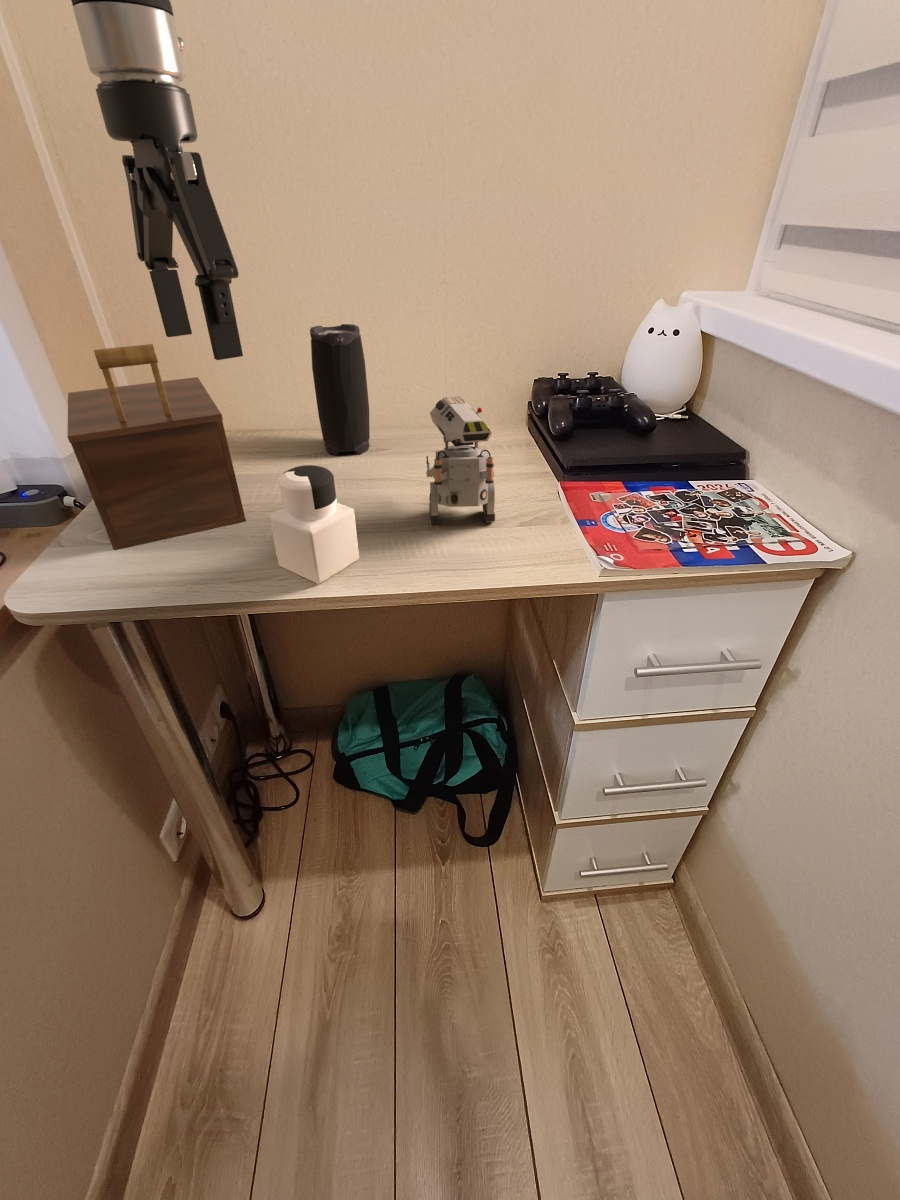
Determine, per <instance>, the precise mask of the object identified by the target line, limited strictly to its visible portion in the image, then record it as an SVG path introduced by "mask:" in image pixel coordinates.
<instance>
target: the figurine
mask: <svg viewBox="0 0 900 1200" xmlns="http://www.w3.org/2000/svg"><path fill="white" fill-rule="evenodd" d="M476 411H477V412H476ZM476 411H475V409H473V408H472V407H471V406H470V405H469V404H468V403H467V402H466V401H465V400H464V399H463V398H462V397H461V396H451V397H450V396H446V397H443V398H442V399H440V400H438V401H437V402H436V403H435V406H434V408H432V409H431V411H430V412H429V415H430V419H431V421H432V423H433V424H434V426H435V427H436V428H437V430H438V431H439V432H440V433H441V435H442V436H443V437H442V439H443V444H444V448H443V449H440V450H435V458H434V459H433V460H434V461H433V466H432V467H431V464H430V462H429V456H428V455H426V457H425V459H426V469H427V470H426V474H425V475H426V477H427V478H432V479H434V480H433V481H431V482H429V503H428V507H429V508H428V509H429V522H430V524H431V525H438V524H440V512H439V505H440V506H444V507H448V508H453V507H454V508H462V507H481V506H482V510H483V515H484V518H485V522H486V523H494V522H496V513H495V503H496V501H495V500H496V490H495V487H496V486H495V480H494V477H495V471H494V467H495V463H494V462H495V461H494V457H492V456H491V452H490V450H488V449H480V447H479V443H482V442H488V441H489V439H490V438H491V436H492V431H491V430H490V427H489V426H488V425H487V424H486V423H485V421H484V420H483V419H482V418H481V416H479V414H480V413H482V412H483V408H482V407H478V408H477V410H476ZM449 443H451V444H452V445H449Z"/></svg>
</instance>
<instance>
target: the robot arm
mask: <svg viewBox="0 0 900 1200" xmlns="http://www.w3.org/2000/svg"><path fill="white" fill-rule="evenodd" d="M71 5H72V9H73V13H74V17H75V21H76V25H77V28H78V32H79V36H80V40H81V43H82V48H83V52H84V55H85V59H86V61H87V66H88V70H89V72H90V73H92V75H94V76H95V77H97V78H99V81H100V82H99V83H97V85H96V87H97V88H95V93H96V96H97V100H98V104H99V107H100V112H101V115H102V119H103V122H104V126H105V130H106V133H107V135H108V136H109V137H110V138H111V139H113V140H114V141H118V142H129V143H130V144H131V146H132V152H133V154H132V155H131V154H122V155H121V159H122V160H121V163H122V165H123V168H124V169H123V170H124V173H125V177H126V178H125V179H126V182H127V188H128V195H129V203H130V208H131V209H130V210H131V217H132V224H133V232H134V239H135V247H136V255H137V258H138V260H139V261H140V262H144V265H145V267H146V269H147V270H148V272H149V276H150V280H151V284H152V288H153V292H154V295H155V298H156V302H157V306H158V309H159V314H160V317H161V321H162V325H163V329H164V332H165V336H166V337H168V338H174V337H181V336H189V335H193V331H192V328H191V323H190V319H189V315H188V311H187V307H186V302H185V298H184V294H183V293H184V292H183V289H182V285H181V281H180V278H179V273H178V270H177V269H179V266H180V265H179V264H178V262H177V260H176V259H175V257H174V256H173V243H174V242H173V241H174V239H173V238H174V237H173V236H174V226H175V228H176V230H177V232H178V235H179V237H180V238H181V240H182V243H183V244H184V248H185V249H186V251H187V253H188V256H189V257H190V260H191V262H192V264H193V266H194V268H195V271H196V272H197V274H196V275H195V279H194V286H195V287H196V288H198V292H199V297H200V300H201V301H200V302H201V305H202V309H203V314H204V318H205V323H206V327H207V332H208V336H209V340H210V345H211V351H212V355H213V359H214V360H216V361H221V360H227V359H233V358H240V357H244V354H243V347H242V344H241V337H240V333H239V328H238V322H237V318H236V317H237V316H236V311H235V307H234V302H233V297H232V292H231V291H232V290H231V287H230V285H231V284H232V280H233V279H238V278H239V275H240V274H239V270H238V266H237V263H236V260H235V258H234V255H233V252H232V249H231V247H230V243H229V240H228V237H227V235H226V233H225V230H224V227H223V224H222V221H221V218H220V215H219V213H218V210H217V207H216V204H215V201H214V198H213V195H212V193H211V189H210V188H209V184H208V181H207V177H206V172H205V168H204V163H203V159H202V156H201V154H200V153H199V152H198V151H197V152H195V151H184V150H183V147H182V144H191V143H194V142H196V141H197V139H198V130H197V126H196V125H197V124H196V119H195V115H194V109H193V105H192V100H191V95H190V93H188V91H187V89H186V88H184V87H181V84H180V82H183V81H184V79H185V78H186V72H185V67H184V62H183V58H182V53H181V52H183V51H184V48H185V45H184V40H183V38H182V37H180V36H178V32H177V27H176V23H175V17H174V11H173V6H172V2H171V0H71Z"/></svg>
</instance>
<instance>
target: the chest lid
mask: <svg viewBox="0 0 900 1200" xmlns="http://www.w3.org/2000/svg"><path fill="white" fill-rule="evenodd" d="M156 352H157V351H156V350H155V346H154V344H153V343H147V344H138V345H129V346H128V345H127V346H117V347H107V348H97V349H93V353H94V356H95V359H96V362H97V365H98V368H99V369H100V370H101V372H102V375H103V377H104V380H105V383H106V386H107V387H103V388H96V389H88V390H79V391H72V392H71V391H70V392H67V434H66V435H67V439H68V442H69V444H71V443H75V442H82V441H88V440H95V439H102V438H108V437H115V436H122V435H128V434H135V433H141V432H148V431H155V430H161V429H168V428H175V427H181V426H188V425H194V424H201V423H208V422H214V421H221V420H222V421H224V418H223V414H222V413H221V411H220V409H219V408H218V406H217V405H216V403H215V401H214V400H213V398H212V396H211V395H210V393H209V392H208V391H207V389H206V388H205V386H204V385H203V383H202V381H201V380H200V378H199V377H198V376H196V377H195V376H194V377H186V378H180V379H178V378H177V379H171V380H163V379H162V376H161V373H160V369H159V366H158V363H159V360H158V356H157V353H156ZM143 365H150V368H151V371H152V375H153V379H154V382H146V383H137V384H129V385H121V386H120V385H119V386H115V385H116V384H115V383H114V380H113V377H112V374H111V371H110V369H114V368H124V367H134V366H143Z"/></svg>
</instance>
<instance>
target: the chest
mask: <svg viewBox="0 0 900 1200" xmlns="http://www.w3.org/2000/svg"><path fill="white" fill-rule="evenodd" d="M70 445H71V447H72V450H73V453H74V454H75V457H76V459H77V462H78V465H79V467H80V470H81V472H82V475H83V477H84V479H85V483H86V485H87V488H88V489H89V492H90V494H91V497H92V499H93V502H94V504H95V507H96V510H97V513H98V514H99V517H100V519H101V522H102V525H103V527H104V529H105V532H106V534H107V536H108V540H109V542H110V544H111V546H112V550H114V551H116V550H120V549H124V548H130V547H135V546H138V545H139V546H140V545H144V544H148V543H152V542H156V541H161V540H165V539H169V538H175V537H179V536H184V535H188V534H192V533H197V532H202V531H206V530H210V529H215V528H221V527H225V526H229V525H234V524H238V523H239V524H240V523H243V522H246V521H247V520H246V517H245V511H244V506H243V504H242V499H241V498H242V497H241V493H240V490H239V486H238V481H237V476H236V473H235V468H234V463H233V460H232V455H231V451H230V447H229V442H228V438H227V435H226V430H225V426H224V420H221V421H214V422H208V423H201V424H194V425H188V426H181V427H175V428H168V429H161V430H155V431H148V432H141V433H135V434H128V435H122V436H115V437H108V438H102V439H95V440H88V441H82V442H75V443H70Z"/></svg>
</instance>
